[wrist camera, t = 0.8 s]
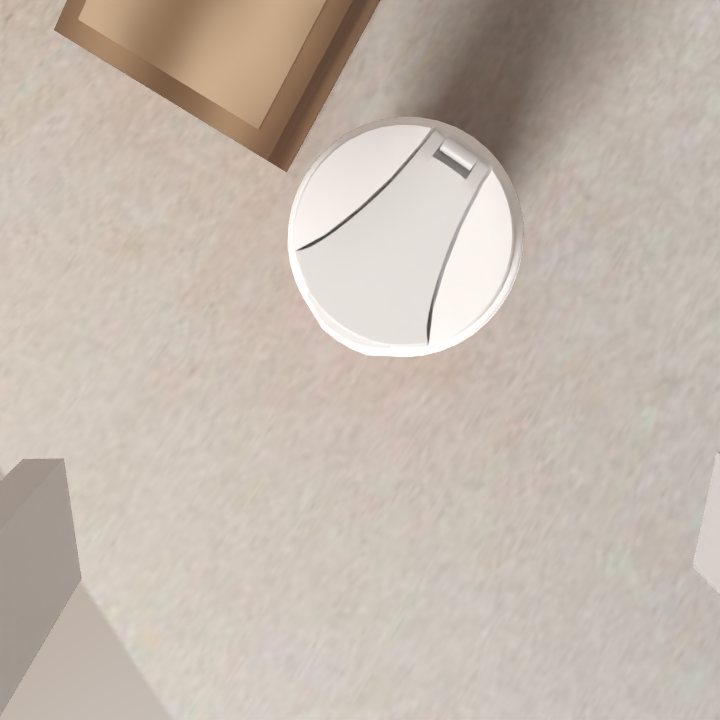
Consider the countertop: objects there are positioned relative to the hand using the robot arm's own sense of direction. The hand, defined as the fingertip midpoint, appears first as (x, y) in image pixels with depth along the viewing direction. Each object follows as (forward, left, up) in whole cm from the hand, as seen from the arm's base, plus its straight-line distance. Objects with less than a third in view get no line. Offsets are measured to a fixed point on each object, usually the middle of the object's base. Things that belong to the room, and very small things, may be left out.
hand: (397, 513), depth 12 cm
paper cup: (+3, -5, -21) cm, 22 cm away
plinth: (+17, -11, -21) cm, 29 cm away
